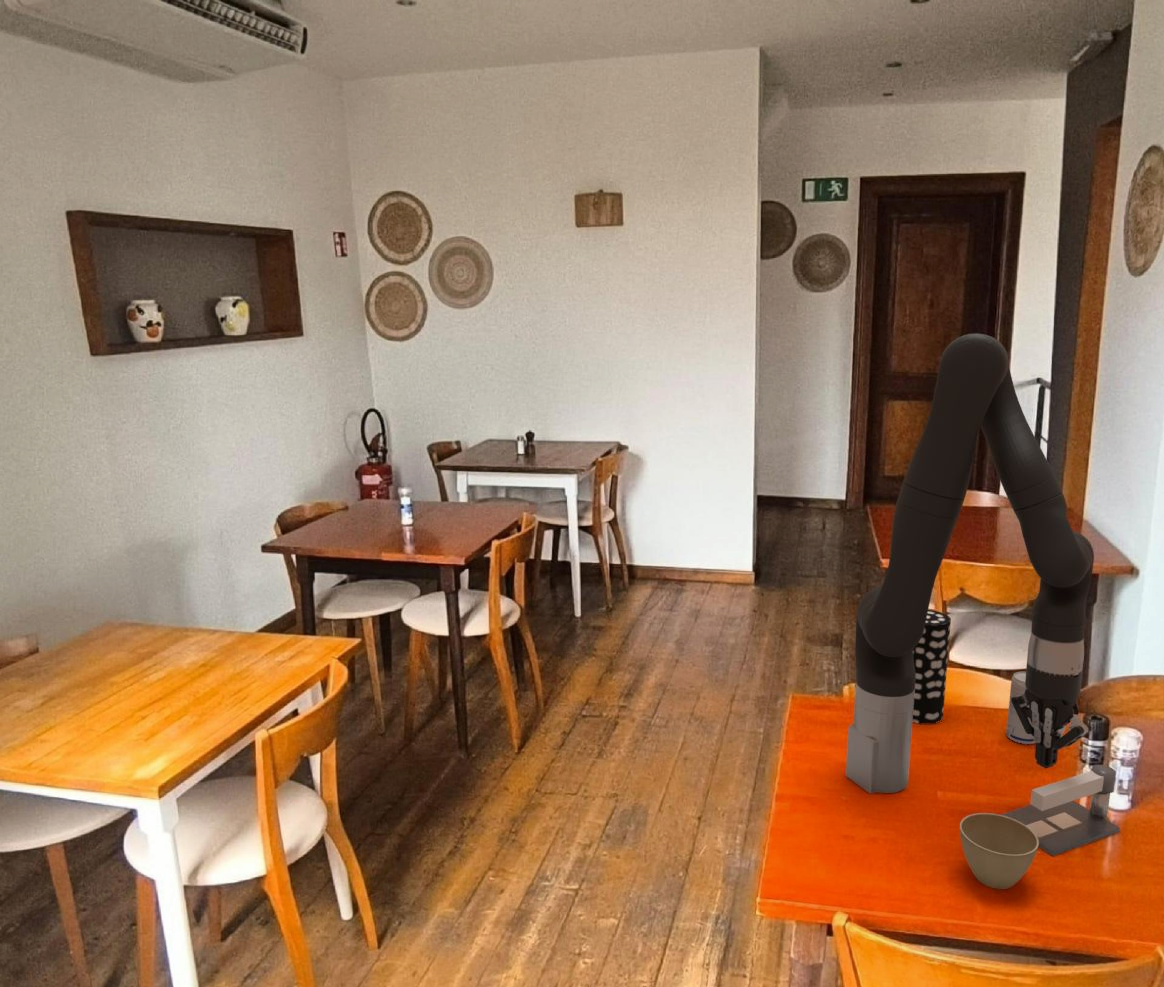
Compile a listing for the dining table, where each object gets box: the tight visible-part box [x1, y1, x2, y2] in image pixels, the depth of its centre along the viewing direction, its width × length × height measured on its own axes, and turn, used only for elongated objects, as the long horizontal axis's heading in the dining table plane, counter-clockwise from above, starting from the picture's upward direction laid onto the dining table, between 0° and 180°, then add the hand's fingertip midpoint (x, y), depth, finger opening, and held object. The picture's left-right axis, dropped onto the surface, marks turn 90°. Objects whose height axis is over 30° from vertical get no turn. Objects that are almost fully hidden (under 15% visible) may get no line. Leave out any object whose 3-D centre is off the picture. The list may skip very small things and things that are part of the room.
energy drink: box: [1005, 671, 1036, 745], centre depth 163 cm, size 5×5×12 cm
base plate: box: [1000, 800, 1121, 857], centre depth 138 cm, size 14×10×1 cm
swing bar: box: [1029, 764, 1117, 811], centre depth 137 cm, size 16×3×3 cm, turn 113°
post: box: [1089, 792, 1111, 820], centre depth 140 cm, size 2×2×5 cm
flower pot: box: [959, 812, 1039, 890], centre depth 126 cm, size 10×10×7 cm
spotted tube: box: [912, 609, 952, 724], centre depth 172 cm, size 8×8×20 cm
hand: (1045, 765), depth 141 cm, fingers closed
